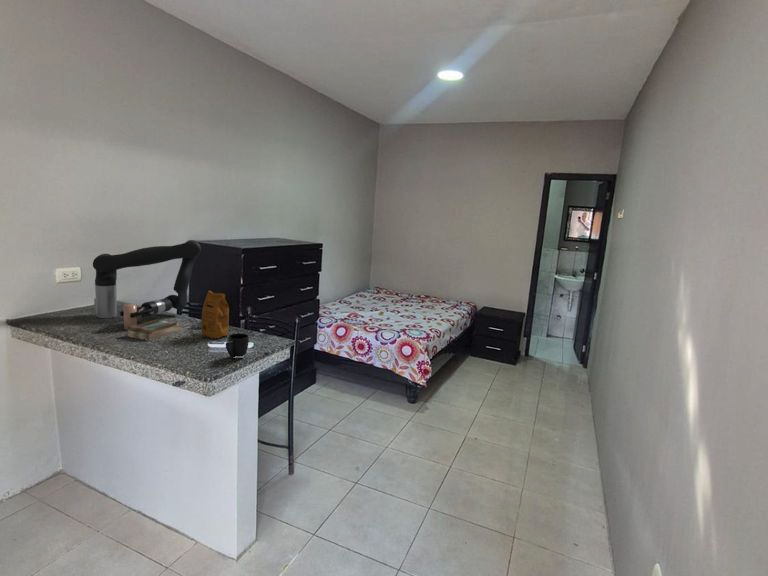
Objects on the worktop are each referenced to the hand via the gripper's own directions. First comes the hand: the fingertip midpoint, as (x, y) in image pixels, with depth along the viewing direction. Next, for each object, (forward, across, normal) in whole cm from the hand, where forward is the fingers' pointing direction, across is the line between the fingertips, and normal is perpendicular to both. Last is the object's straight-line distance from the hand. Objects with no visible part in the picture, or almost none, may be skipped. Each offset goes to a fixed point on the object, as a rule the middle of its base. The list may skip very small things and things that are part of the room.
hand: (125, 314), depth 201 cm
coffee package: (-13, +40, +8) cm, 43 cm away
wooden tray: (-2, +15, +8) cm, 17 cm away
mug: (+9, +67, +8) cm, 68 cm away
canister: (-3, 0, +8) cm, 8 cm away
